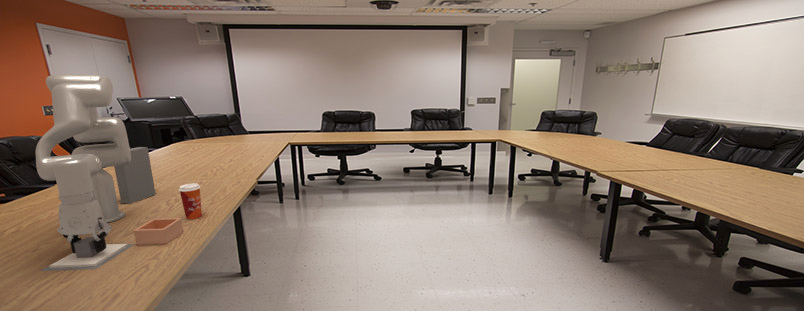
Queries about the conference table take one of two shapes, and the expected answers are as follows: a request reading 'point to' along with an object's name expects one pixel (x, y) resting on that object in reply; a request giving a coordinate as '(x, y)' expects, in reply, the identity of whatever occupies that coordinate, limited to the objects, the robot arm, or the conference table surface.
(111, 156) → the robot arm
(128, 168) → the tall grey upright block
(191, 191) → the paper cup
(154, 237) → the open box
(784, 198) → the conference table surface
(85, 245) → the cover
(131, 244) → the mat
